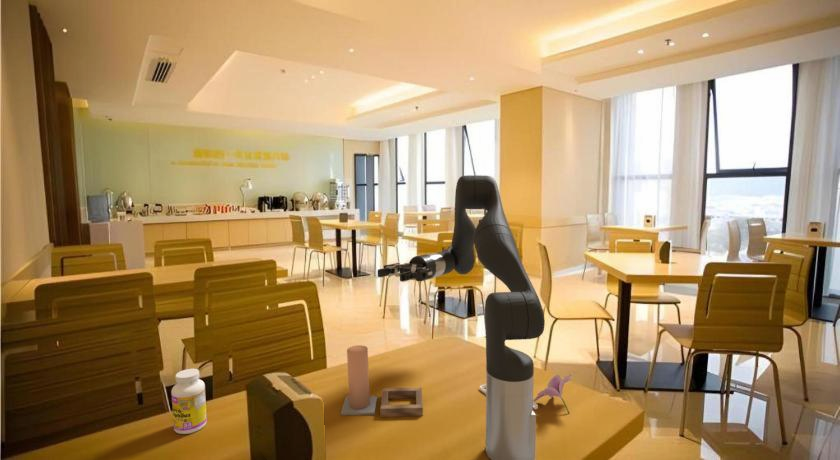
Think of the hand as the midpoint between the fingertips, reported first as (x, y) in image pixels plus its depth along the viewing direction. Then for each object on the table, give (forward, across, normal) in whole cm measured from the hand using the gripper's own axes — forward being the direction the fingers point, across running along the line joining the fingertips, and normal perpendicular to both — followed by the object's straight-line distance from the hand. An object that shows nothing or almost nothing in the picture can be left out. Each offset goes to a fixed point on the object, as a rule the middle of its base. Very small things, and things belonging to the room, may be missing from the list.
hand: (389, 275), depth 114 cm
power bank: (-12, +30, +31) cm, 44 cm away
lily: (-16, +40, +30) cm, 53 cm away
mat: (+15, +3, +30) cm, 34 cm away
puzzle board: (+8, +11, +30) cm, 33 cm away
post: (+14, +3, +29) cm, 33 cm away
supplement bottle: (+45, -20, +30) cm, 58 cm away
